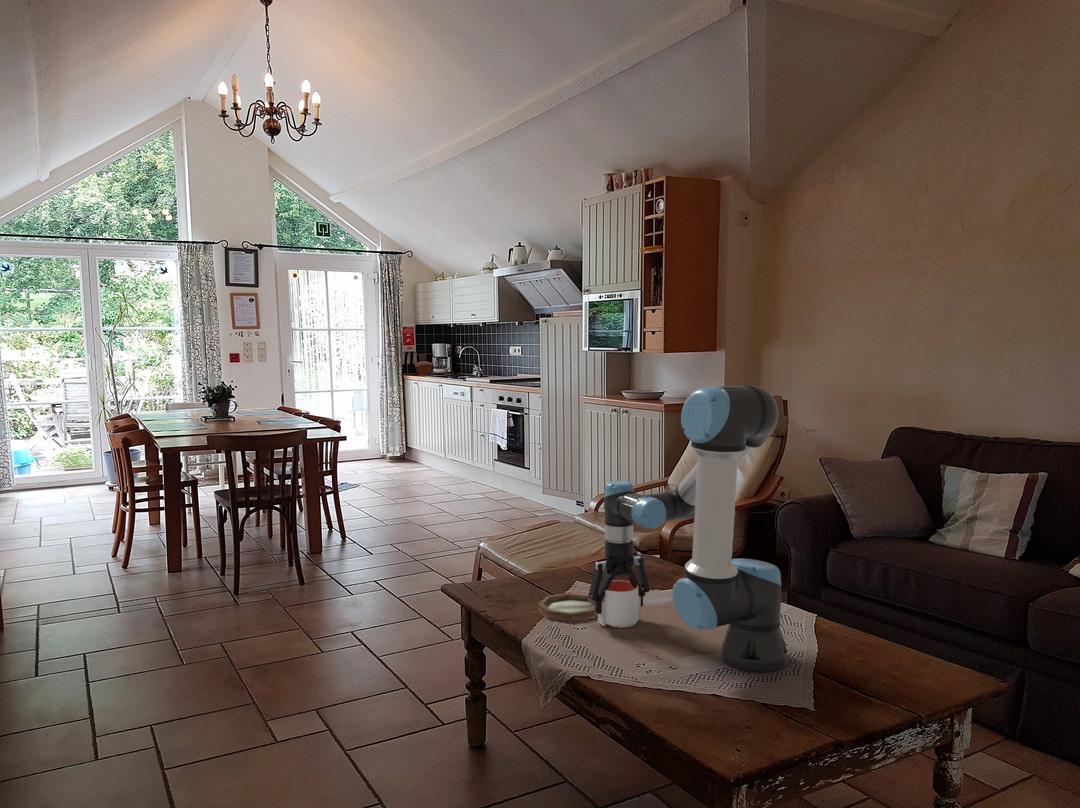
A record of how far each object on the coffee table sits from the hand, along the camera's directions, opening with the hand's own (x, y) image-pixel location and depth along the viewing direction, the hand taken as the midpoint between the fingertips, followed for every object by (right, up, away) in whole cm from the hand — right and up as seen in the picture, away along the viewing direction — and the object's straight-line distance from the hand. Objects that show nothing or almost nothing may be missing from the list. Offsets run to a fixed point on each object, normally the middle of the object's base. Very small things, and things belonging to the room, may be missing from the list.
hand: (619, 621), depth 204 cm
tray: (-13, 0, +10) cm, 16 cm away
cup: (0, 0, 0) cm, 0 cm away
